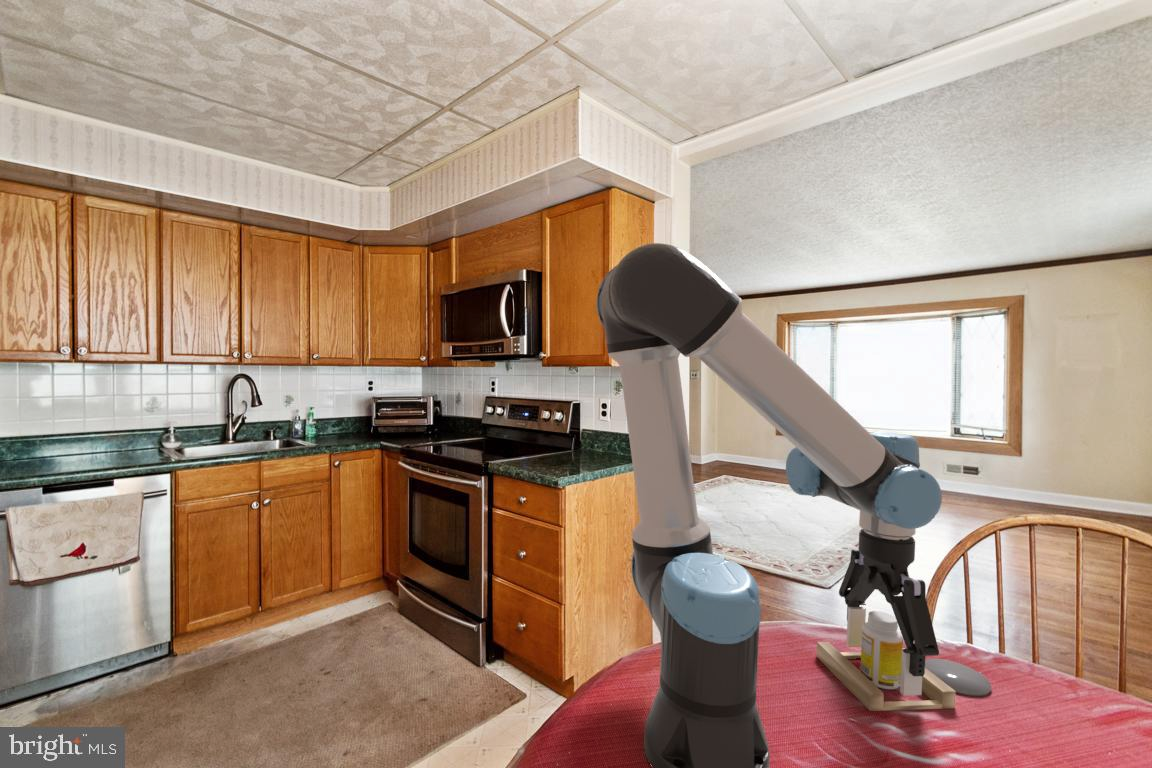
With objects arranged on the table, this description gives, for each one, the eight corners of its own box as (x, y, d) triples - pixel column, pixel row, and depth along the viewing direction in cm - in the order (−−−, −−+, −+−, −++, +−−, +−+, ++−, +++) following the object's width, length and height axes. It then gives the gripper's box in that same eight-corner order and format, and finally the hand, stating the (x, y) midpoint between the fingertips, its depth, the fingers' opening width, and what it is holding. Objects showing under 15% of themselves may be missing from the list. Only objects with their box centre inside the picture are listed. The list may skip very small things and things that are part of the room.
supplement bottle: (906, 682, 81) (909, 618, 81) (893, 696, 78) (896, 628, 77) (868, 666, 86) (871, 605, 85) (854, 678, 82) (856, 614, 82)
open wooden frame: (869, 711, 74) (870, 693, 74) (816, 656, 88) (817, 641, 88) (954, 708, 75) (955, 691, 75) (889, 654, 89) (889, 640, 89)
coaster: (950, 696, 78) (951, 693, 78) (907, 662, 87) (907, 659, 87) (1006, 695, 79) (1006, 691, 79) (958, 661, 88) (958, 658, 88)
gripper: (975, 561, 69) (968, 719, 70) (860, 510, 93) (855, 628, 94) (922, 562, 68) (915, 721, 69) (820, 510, 93) (815, 628, 93)
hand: (880, 668), depth 82 cm, fingers open, 12 cm apart
